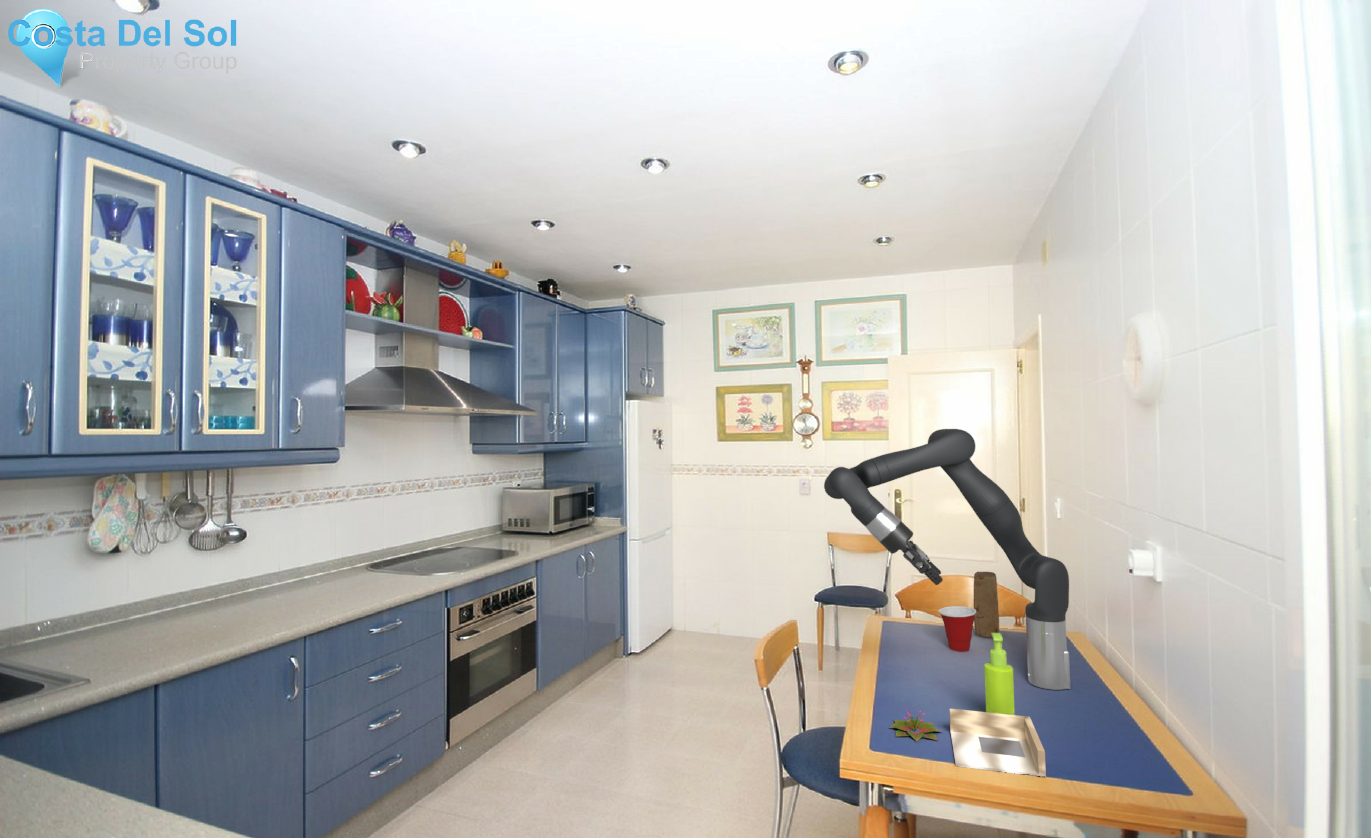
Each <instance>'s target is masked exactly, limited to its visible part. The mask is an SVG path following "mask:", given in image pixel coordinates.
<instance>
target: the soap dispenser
mask: <svg viewBox="0 0 1371 838" xmlns="http://www.w3.org/2000/svg"><path fill="white" fill-rule="evenodd" d="M991 635H992V637H993V638H992V639H993V648H991V649H990V650H989V660H990V661H989V662H986V663H984V666H983V667H984V689H985V692H984V693H985V712H988V713H998V714H1008V715H1016V714H1015V710H1016V709H1015V688H1014V687H1015V685H1014V682H1015V681H1014V668H1013V666H1012V665H1010V664H1008V663H1007V661H1008V660H1007V651H1006V650H1005V649H1004V648H1003V642H1004V639H1003V635H1002V633H1000V632H999V633H991Z"/></svg>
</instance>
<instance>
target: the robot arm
mask: <svg viewBox="0 0 1371 838" xmlns="http://www.w3.org/2000/svg"><path fill="white" fill-rule="evenodd" d="M975 451H976V442H975V439H974V437H973V435H971V434H970V433H969V432H968V431H966V430H963V429H959V428H943V429H942V428H941V429H936V430H934V431H933V432H932V433H931V434H930V435H929V436H928V439H927V443H925V444H923V445H920V446H915V447H912V448H907V449H901V450H897V451H892V452H888V453H884V454H881V455H877V456H875V457H872V458H868V459H866V460H864V461H862V462H860V463H859V464H857V465H855V466H853V467H850V468H848V467H843V466H838V467H835V468H834V469H833V470H831V472H830V473H829V474H828V476H826V478H825V481H824V484H823V485H824V486H823V488H824V492H825V493H826V494H827V496H828V497H830V498H831V499H835V500H842V499H843V500H844V501H845V502H846V503H847V505H848V506H849V507H850V512H851V514H852V515H853V516H854V517H855V518H856V519H857V521H859V522H860V523H861V524H862V525H863V526H864V527H865V528H866V529H867V530H868V532H869V533H870V534H871V535H872V536H873V538H874V539H875V540H877V541H878V542H879V543H880V544H881V546H883V547H884V548H885V549H886V550H887V551H888V552H889V553H890V554H892V555H893V554H896V553H897V552H899V551H901V552H902V553H903V554H902V556H903V558H904V559H905V560H906V561H908V562H909V563H910V565H912V567H914V568H915V569H916V570H917V571H918V572H919V574H921V575H925V576H926V577H927V578H928V580H930V581H931V582H932V583H933V584H934V585H935V586H939V585H940V584H941V583H942V582H943V581H944V580H943V577H942V576H941V574H942V571H941V570H940V569H939V568H938V566H936V565H935V564H934V563H933V562H932V560H931V559H930V557H928V555H927V554H926V553H925V551H923V550H922V549H921V548H920V547H919V545H917V544H916V543H914V542H913V540H911V539H912V538H913V536H914V532H913V531H912V529H910V528H909V527H908V526H907V525H906V524H905V523H904V522H903V521H902V520H901V519H900V518H899V517H898V516H896V515H895V514H894V513H893V511H891V510H889V509H888V508H887V507H885V505H883V504H882V503H881V502H880V501H879V500H878V499H877V498H876V497H875V496H874V495H873V494H872V493H871V492H870V490H869V488H873V487H877V486H880V485H883V484H886V483H889V482H893V481H895V480H898V479H901V478H904V477H907V476H909V475H912V474H916V473H919V472H922V471H926V470H929V469H934V468H938V467H940V468H941V469H942V470H943V471H944V473H946V475H947V476H948V477H949V478H950V479H951V480H952V482H953V483H954V484H955V486H956V488H957V489H958V490H959V491H960V493H961V494H962V496H963V498H964V499H965V501H967V503H968V504H969V506H970V507H971V509H972V511H974V514H975V515H976V517H977V518H978V519H979V521H980V522H981V523H982V524H983V526H984V527H985V528H986V530H987V531H988V532H989V534H991V536H992V538H993V540H995V542H996V543H997V544H998V546H999V547H1000V548H1001V549H1002V551H1003V553H1005V556H1006V557H1007V560H1009V563H1010V565H1012V568H1013V569H1014V571H1015V573H1016V574H1017V576H1018V578H1019V580H1020V581H1021V582H1022V584H1024V585H1025V586H1027V587H1029V588H1031V589H1033V590H1034V601H1033V602H1030V603H1028V604H1026V606H1025V631H1026V632H1025V634H1026V657H1027V658H1026V659H1027V662H1026V663H1027V680H1028V681H1027V682H1028V683H1029V684H1030V685H1032V686H1035V687H1037V688H1041V689H1046V690H1052V691H1053V690H1054V691H1057V690H1071V675H1070V674H1071V673H1070V672H1071V671H1070V668H1071V667H1070V652H1069V650H1068V649H1067V646H1068V645H1067V627H1066V626H1067V625H1066V624H1067V621H1066V620H1067V619H1066V617H1067V611H1068V609H1069V604H1070V578H1069V577H1070V576H1069V572H1068V569H1067V566H1066V565H1065V564H1064V562H1062V561H1061V560H1059V559H1056V558H1053V557H1049V556H1046V555H1042V553H1040V552H1039V551H1038V550H1037V549H1036V548H1035V547H1034V545H1033V544H1032V543H1031V542H1030V541H1029V539H1028V537H1027V536H1026V534H1025V532H1024V528H1023V527H1024V526H1023V521H1022V517H1021V514H1020V511H1019V510H1018V508H1017V506H1015V503H1013V501H1012V500H1011V498H1010V497H1009V495H1008V494H1007V493H1006V492H1005V490H1003V489H1002V488H1001V487H1000V486H999V485H998V484H997V483H996V482H995V481H994V480H992V479H991V478H990V477H988V476H987V475H986V474H984V473H983V472H982V471H981V470H980V469H979V468H978V467H977V466H976V465H975V464H974V462H973V461H972V460H971V458H972V457H973V456H974V454H975Z"/></svg>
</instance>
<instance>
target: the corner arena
mask: <svg viewBox="0 0 1371 838" xmlns="http://www.w3.org/2000/svg"><path fill="white" fill-rule="evenodd" d="M949 728H950V730H949V731H950V737H951V744H952V745H951V746H952V750H953V751H952V752H953V757H954V758H953V759H954V764H955V767H961V768H968V769H973V770H974V769H976V770H982V771H984V770H985V771H991V772H997V771H1002V772H1001V773H1005V772H1007V773H1006V774H1014V773H1015V774H1014V775H1020V774H1030V775H1037V776H1045V777H1046V778H1047V775H1046V774H1047V773H1046V771H1047V770H1046V750H1045V748H1044V747H1043V746H1044V745H1043V744H1042V742H1041V740H1040V737H1039V734H1038V732H1037V731H1036V728H1035V726H1034V723H1033V721H1032V719H1031V717H1030V716H1028V715H1027V716H1024V715H1016V714H1015V715H1008V714H998V713H988V712H986V711H979V710H967V709H960V708H959V709H957V708H949Z"/></svg>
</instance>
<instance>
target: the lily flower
mask: <svg viewBox="0 0 1371 838" xmlns="http://www.w3.org/2000/svg"><path fill="white" fill-rule="evenodd" d="M921 712H922V710H919V712H918V714H917V715H916V716H915V717H916V718H913V716H912V714H911V713H910V711H909V710H908V709H907V708H906V713H907V714H908V715H907V717H905V716H903V718H904V719H905V720H904V719H893V721H894V723H893V724H891V726H888V727H887V728H888V729H898V730H896V731H895V736H894V737H911V738H913V739H914V740H915V742H918V741H919V740H920V739H921V738H924V739H925V738H926V739H931V740H933V741H934V740H935V741H938V738H937V736H936V734H935V733H934V732H939V733H942V731H941V730H940V729H937V727H935V725H934V724H935V723H934V722H928V721H925V720H924V719H921V717H922V716H924V715H926V713H922V714H919V713H921ZM908 718H909V719H908ZM909 729H910V730H909ZM918 729H919V730H918ZM911 730H914V731H911ZM917 730H918V732H919V733H918V732H917ZM906 732H907V733H906Z"/></svg>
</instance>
